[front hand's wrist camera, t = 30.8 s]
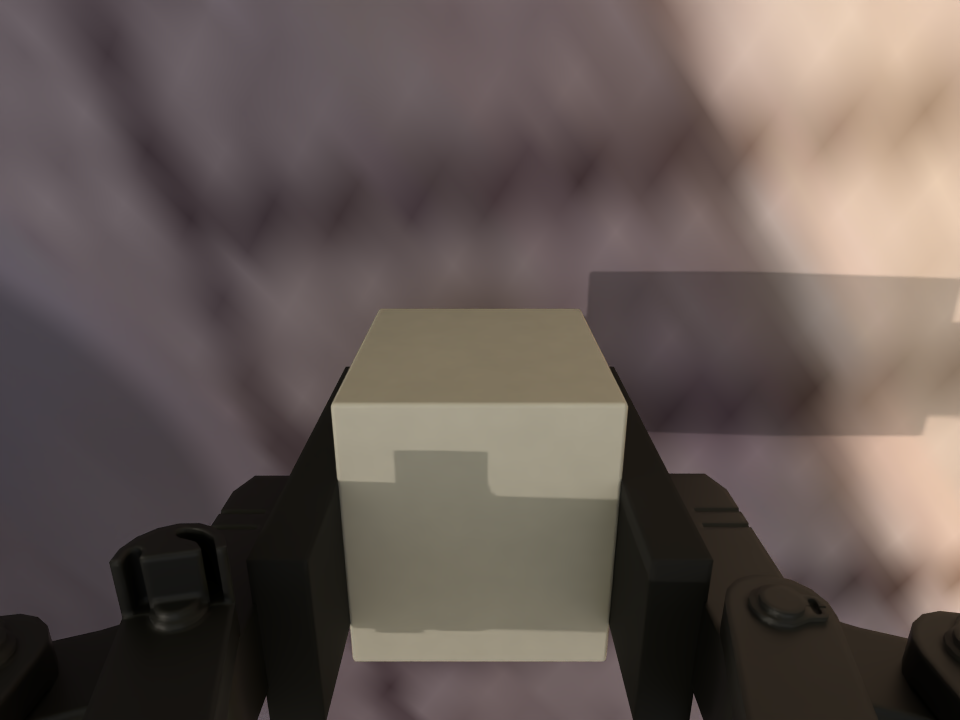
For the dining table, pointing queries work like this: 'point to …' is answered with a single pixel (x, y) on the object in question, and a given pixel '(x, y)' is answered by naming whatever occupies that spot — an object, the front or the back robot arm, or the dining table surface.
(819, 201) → the dining table surface
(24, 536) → the dining table surface
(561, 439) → the block
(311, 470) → the front robot arm
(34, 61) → the dining table surface
